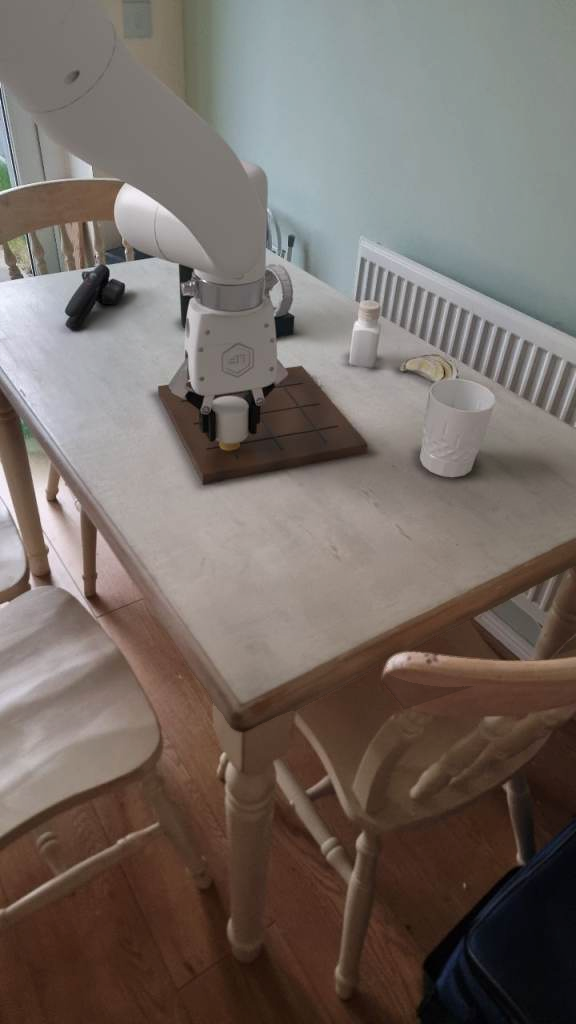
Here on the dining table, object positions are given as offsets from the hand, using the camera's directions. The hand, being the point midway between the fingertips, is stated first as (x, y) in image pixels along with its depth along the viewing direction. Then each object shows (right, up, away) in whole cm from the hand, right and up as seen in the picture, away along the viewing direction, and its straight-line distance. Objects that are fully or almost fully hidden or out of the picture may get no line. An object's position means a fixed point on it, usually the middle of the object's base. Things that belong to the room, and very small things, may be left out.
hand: (229, 430), depth 86 cm
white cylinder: (0, 0, 0) cm, 0 cm away
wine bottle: (-8, +22, +31) cm, 39 cm away
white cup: (+28, -4, +4) cm, 28 cm away
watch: (+5, +20, +31) cm, 37 cm away
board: (+3, +2, +8) cm, 9 cm away
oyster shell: (+29, +10, +20) cm, 36 cm away
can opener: (-26, +24, +33) cm, 49 cm away
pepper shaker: (+19, +14, +24) cm, 34 cm away
